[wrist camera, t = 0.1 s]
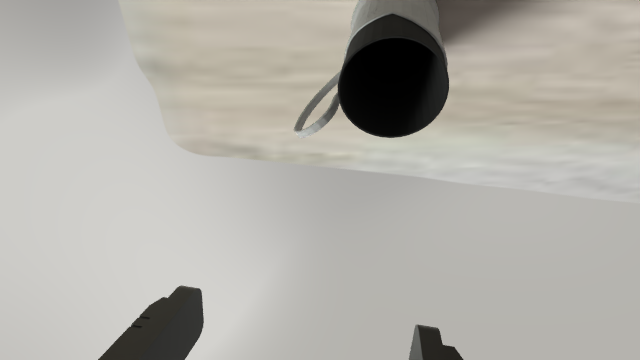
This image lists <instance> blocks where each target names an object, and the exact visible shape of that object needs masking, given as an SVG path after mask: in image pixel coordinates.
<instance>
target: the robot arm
mask: <svg viewBox="0 0 640 360" xmlns="http://www.w3.org/2000/svg"><path fill="white" fill-rule="evenodd" d="M203 322H204V321H203V306H202V293H201V290H200V289H199V288H193V287H186V286H179V287H178V288H177V289H176V290H175V291H174V292H173V293H172V294H171V295H170V296H169V297H168V298H165V297H163V298H161V299H160V300H158V301H156V302H154V303H153V304H151V305H149V307H148V308H147V309H146V310H145V311H144V312H143V313H142V314H141V315H140V317H139V318H137V319H136V320H135V321H134V322H133V323H132V325H131V327H129V328H128V329H127V330H126V331H125V332H124V333H123V334H122V335H121V336H120V337H119V338H118V339H117V340H116V341H115V342H114V344H113V345H112V346H111V347H110V348H109V349H108V350H107V351H106V352H105V353H104V354H103V355H102V356H101V357H100V358H99V359H98V360H185V358H186V357H187V355H188V354H189V352H190V351H191V349H192V348H193V346H194V345H195V343H196V342H197V340H198V338H199V337H200V334H201V332H202V328H203ZM409 360H463V359H462V357H461V356H460V354H459V353H458V352H457V350H456V349H455V347H452V346H445V345H443V344H442V340H441V335H440V331H439V329H438V328H435V327H429V326H423V325H416V326H415V330H414V336H413V341H412V346H411V351H410V357H409Z"/></svg>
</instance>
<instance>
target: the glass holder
mask: <svg viewBox="0 0 640 360" xmlns="http://www.w3.org/2000/svg"><path fill="white" fill-rule="evenodd" d="M438 27H439V11H438V6H437V3H436V1H435V0H359V1H358V3H357V5H356V7H355V10H354V12H353V16H352V22H351V35H350V38H349V41H348V44H347V47H346V50H345V56H344V64H343V67H342V70H341V71H340V72H339V73H338V74H337V75H335V76H334V77H333V78H332V79H331V80H330V81H329V82H328V83H327V84H326V85H325V86H324V87H323V88H322V89H321V90H320V91H319V92H318V93H317V94H316V95H315V97H314V98H313V99H312V100H311V101H310V103H309V104H308V105H307V106H306V108H305V109H304V111H303V112H302V114H301V115H300V117H299V118H298V120H297V122H296V124H295V128H294V132H295V133H296V135H297V136H298V137H299V138H305V137H308V136H310V135H312V134H314V133H316V132H317V131H318V130H320V129H321V128H322V127H323V126H325V125H326V124H327V123H328V122H329V121H330V119H331V118H332V117H333V116H334V114H335V113H336V111H337V109H338V106H339V103H340V105H341V107H342V110H343V112H344V113H345V115H346V116H347V118H348V119H349V120H350V121H351V122H352V123H353V124H354V125H355V126H357V127H358V128H359V129H361V130H363V131H364V132H366V133H369V134H372V135H374V136H379V137H387V138H395V137H402V136H407V135H410V134H413V133H415V132H418V131H419V130H421V129H423V128H424V127H426V126H427V125H428V124H430V123H431V122H432V121H433V120H434V119H435V118H436V117H437V116H438V115H439V113H440V111H441V110H442V108H443V107H444V104H445V102H446V99H447V96H448V91H449V78H448V72H447V58H446V54H445V50H444V46H443V43H442V39H441V36H440V32H439V29H438ZM337 83H338V92H337V93H336V95H335V96H334V97H333V100H332V102H331V104H330V106H329V108H328V110H327V111H326V112H325V113H324V115H323V116H322V117H321V118H320V119H318V120H317V121H316V122H315V123H314V124H312V125H311V126H309V127H307V128H306V129H303V130H302V127H303V125H304V123H305V121H306V119H307V118H308V116H309V115H310V113H311V112H312V111H313V109H314V108H315V107H316V105H317V104H318V103H319V102H320V101H321V99H322V98H323V97H324V96H325V95H326V94H327V93H328V92H329V91H330V90H331V89H332V88H333V87H334V86H335V85H336V84H337Z"/></svg>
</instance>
